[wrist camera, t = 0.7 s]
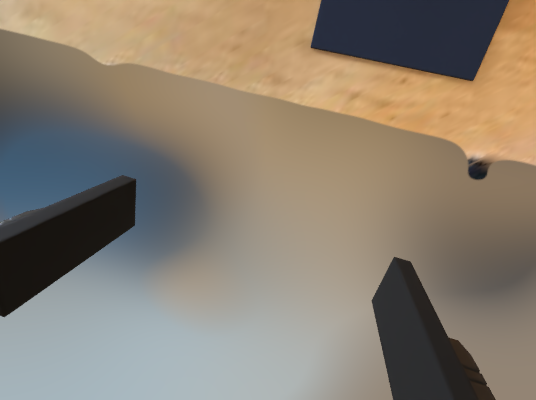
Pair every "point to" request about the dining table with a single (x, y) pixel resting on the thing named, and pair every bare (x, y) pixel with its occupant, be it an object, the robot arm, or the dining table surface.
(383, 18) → the placemat
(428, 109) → the dining table surface
